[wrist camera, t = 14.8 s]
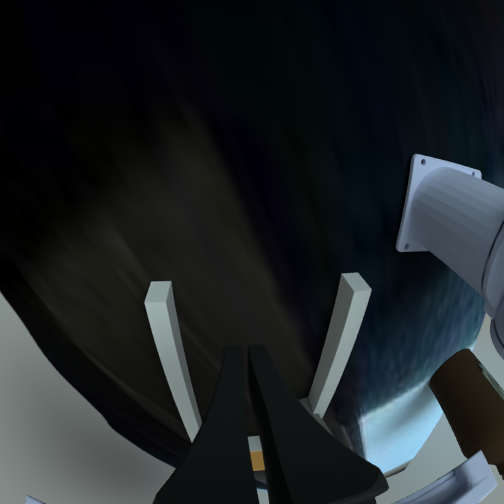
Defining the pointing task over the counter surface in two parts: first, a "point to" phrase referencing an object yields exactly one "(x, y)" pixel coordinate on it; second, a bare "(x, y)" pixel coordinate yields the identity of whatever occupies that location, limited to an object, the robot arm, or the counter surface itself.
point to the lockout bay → (327, 375)
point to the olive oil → (472, 406)
